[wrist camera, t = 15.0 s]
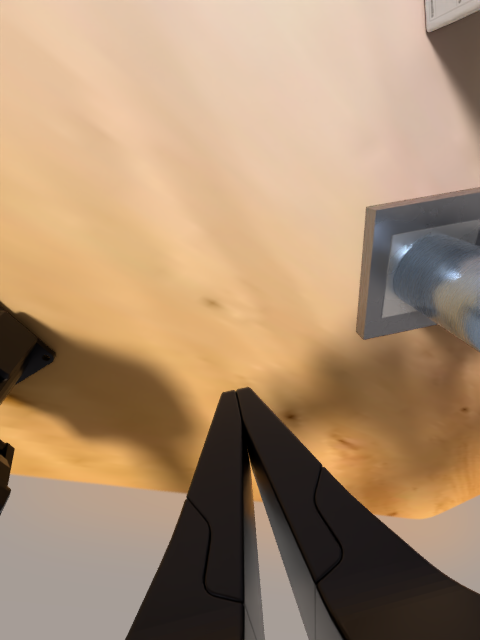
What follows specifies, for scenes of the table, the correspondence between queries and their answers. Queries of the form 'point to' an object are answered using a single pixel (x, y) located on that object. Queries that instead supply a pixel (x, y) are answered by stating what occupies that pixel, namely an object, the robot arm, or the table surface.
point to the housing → (443, 284)
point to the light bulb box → (448, 11)
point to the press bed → (394, 241)
